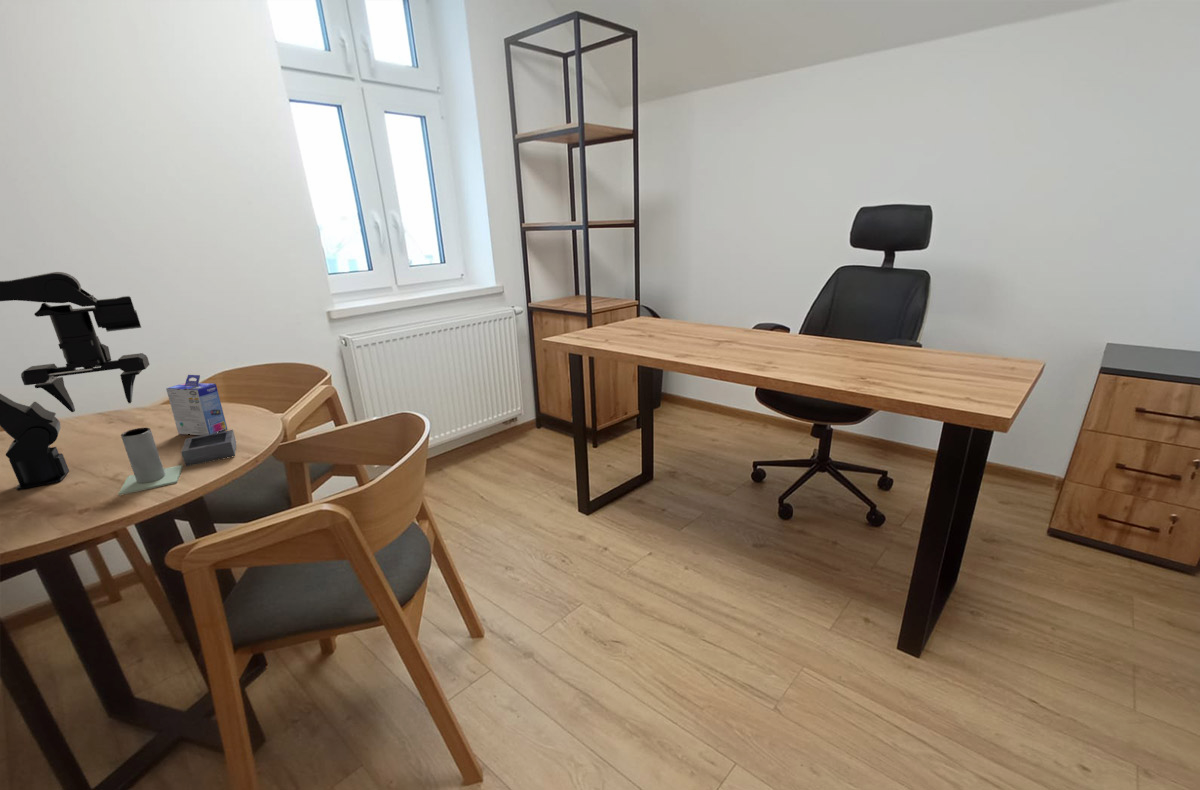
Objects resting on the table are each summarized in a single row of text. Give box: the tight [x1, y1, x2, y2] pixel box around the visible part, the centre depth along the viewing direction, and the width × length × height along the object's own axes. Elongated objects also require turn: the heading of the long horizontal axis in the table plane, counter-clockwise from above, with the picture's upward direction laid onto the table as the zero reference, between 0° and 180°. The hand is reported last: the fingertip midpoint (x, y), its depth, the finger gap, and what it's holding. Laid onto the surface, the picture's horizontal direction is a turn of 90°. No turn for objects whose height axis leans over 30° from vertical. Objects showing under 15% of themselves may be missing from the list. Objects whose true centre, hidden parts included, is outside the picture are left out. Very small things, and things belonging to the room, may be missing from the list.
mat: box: [117, 464, 184, 496], centre depth 107 cm, size 9×9×1 cm
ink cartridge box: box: [165, 374, 228, 436], centre depth 130 cm, size 10×6×14 cm, turn 78°
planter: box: [120, 427, 165, 483], centre depth 105 cm, size 4×4×10 cm
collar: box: [180, 429, 237, 467], centre depth 118 cm, size 9×9×4 cm
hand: (102, 407), depth 112 cm, fingers open, 9 cm apart
